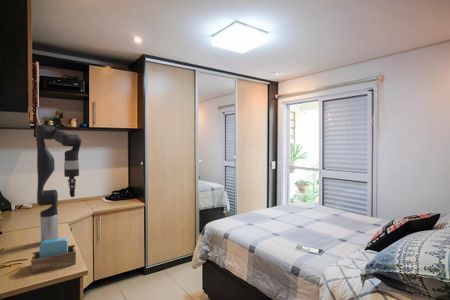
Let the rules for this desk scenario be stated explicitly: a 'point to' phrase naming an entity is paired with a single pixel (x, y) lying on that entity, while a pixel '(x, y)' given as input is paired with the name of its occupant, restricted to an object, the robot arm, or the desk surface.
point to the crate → (53, 260)
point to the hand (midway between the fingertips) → (72, 195)
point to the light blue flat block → (53, 247)
